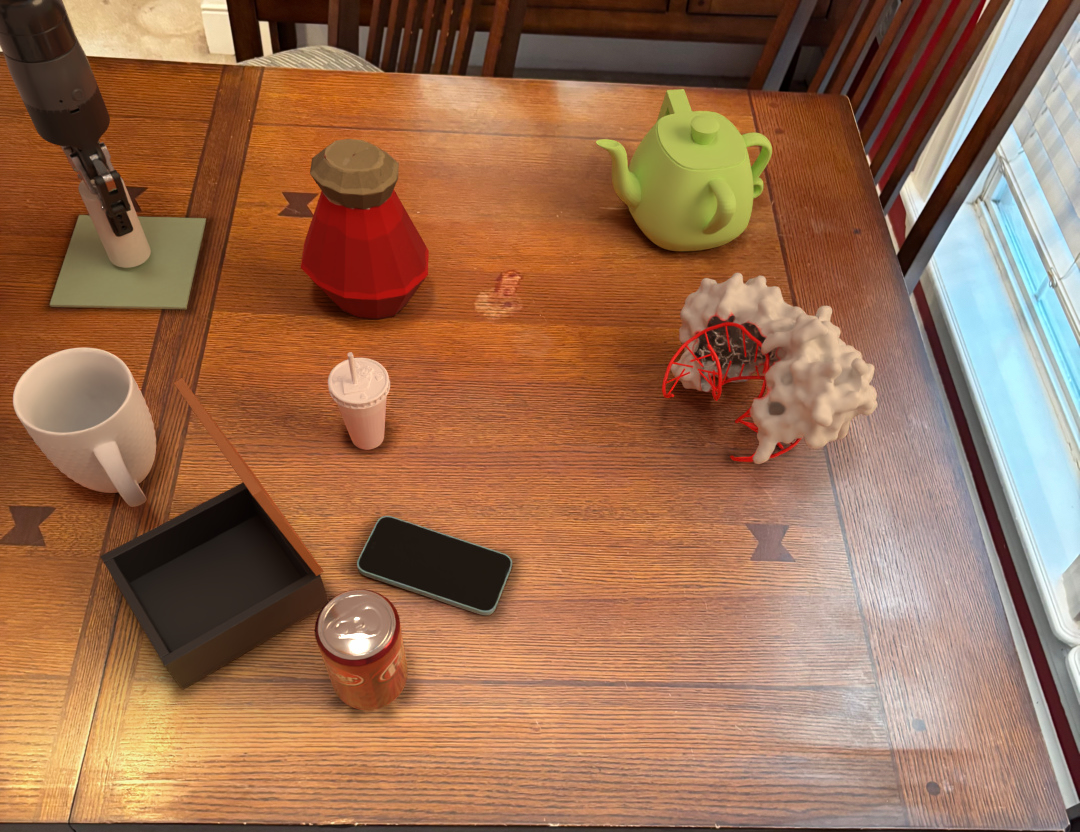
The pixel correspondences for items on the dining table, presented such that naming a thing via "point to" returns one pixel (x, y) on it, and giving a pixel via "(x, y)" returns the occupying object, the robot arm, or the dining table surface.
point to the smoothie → (361, 399)
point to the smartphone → (435, 565)
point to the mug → (89, 420)
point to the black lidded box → (214, 584)
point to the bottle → (362, 233)
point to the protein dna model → (772, 363)
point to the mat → (131, 268)
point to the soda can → (362, 648)
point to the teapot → (689, 177)
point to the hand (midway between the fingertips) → (114, 218)
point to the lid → (247, 476)
